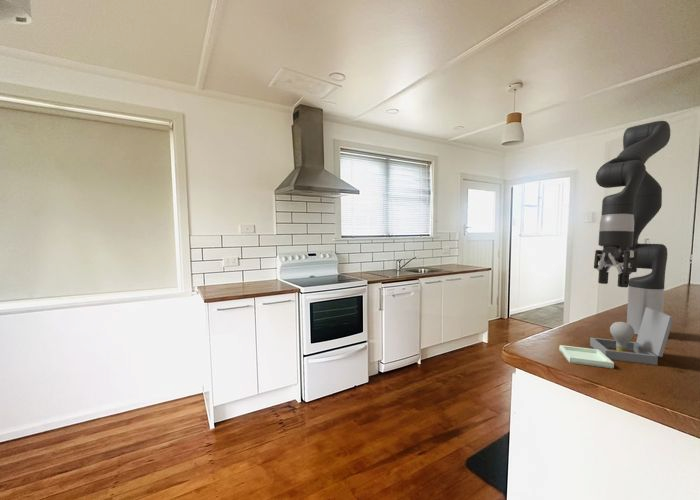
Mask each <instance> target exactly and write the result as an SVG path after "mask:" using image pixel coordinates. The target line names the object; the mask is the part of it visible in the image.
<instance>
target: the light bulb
mask: <svg viewBox="0 0 700 500" xmlns="http://www.w3.org/2000/svg"><path fill="white" fill-rule="evenodd" d="M609 332H610V334H611V336H612V338H613V340H615V341H616V346H617V347H616V350H615V351H622V352H626V351H627V350H626V345H627V343H628V342H631V340H632V339H633V338H634V336H635V334H634V329H633V327H632V326H631V325H629V324H627V322H625V321H615V322H613V323H612V324H611V325H610V327H609Z"/></svg>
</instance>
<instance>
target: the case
mask: <svg viewBox="0 0 700 500" xmlns="http://www.w3.org/2000/svg"><path fill="white" fill-rule="evenodd" d="M589 345H590V347H592V349H598V350H600V351H601V352H602V353H603V354H604V355H606V356H607V357H608V358H609V359H610V360H611V361H613V360H614V361H619V362H627V363H628V362H629V363H637V364H644V365H652V366H658V363H659V362H658V360H659V359H658V358H659V356H657V355H656V354H654V353H653V352H651V351H649V350H648V349H646V348H645V347H643V346H641V345H640V344H638V343H637V342H636V341H629V342H628V343H627V345H626V350H625V352H622V351H616V350H615V349H616V347H617V346H616V341H615V339H607V338H599V337H589ZM608 348H609V349H608ZM611 349H613V350H611ZM629 351H631V352H629ZM632 351H633V352H632Z"/></svg>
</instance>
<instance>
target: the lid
mask: <svg viewBox="0 0 700 500" xmlns="http://www.w3.org/2000/svg"><path fill="white" fill-rule="evenodd" d="M674 319H675V318H674V317H673V316H672V315H669V314H667V313H665V312H664V311H663V312H660V311H656V310H654V309H652V308H649V307H646V309H645V312H644V316H643V319H642V323H641V326H640V330H639V333H638V335H637V338H636V341H635V342H636V343H637V344H639V345H641V346H642V347H644V348H645V349H647V350H648V351H650V352H652V353H653V354H655V355H656V356H658V357H660V358H663V356H664V352H665V349H666V345H667V342H668V339H669V336H670V332H671V329H672V325H673V322H674Z"/></svg>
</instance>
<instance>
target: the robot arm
mask: <svg viewBox="0 0 700 500" xmlns="http://www.w3.org/2000/svg"><path fill="white" fill-rule="evenodd" d="M622 137H623V138H622V147H623V150H622V151H620V153H619V154H618V155H617V156H616V157H615V158H613V159H610V160H609V161H607V162H605V163H604V164H602V165H601V166H600V167H599V169H598V170H597V172H596V174H595V182H596V184H597V185H598V186H599V187H601V188H605V189H611V188H618V187H624V188H623V189H622V190H621V191H619V192H617V193H613V194H609V195H606V196H605V197H603V199H602V201H601V202H602V204H601V216H600V222H599V231H598V232H599V233H598V242H597V243H598V245H597V246H600V247H603V248H602V249H596V250H595V251H594V261H593V268H594V269H595V270H597V271H598V277H597V278H598V280H597V282H598V284H601V285H603V284H604V285H607V284H609V283H608V282H609V274H610V273H609V271H610V269H611V268H612V267H614V268H616V269H617V271H618V274H617V287H619V288H627V289H628V290H627V313H626V323H627V324H629V325H631V326H632V327H633V329H634V335H637V336H638V333H639V330H640V326H641V323H642V319H643V316H644V312H645V309H646V307H649V308H652V309H654V310H656V311H660V312H663V313H664V304H665V303H664V302H665V297H664V296H665V281H666V269H667V268H666V267H667V262H668V248H667V246H666V245H665V244H663V243H639V242H638V241H639V237H640V235H641V233H642V232H643V230H644V229H645V228H646V227H647V225H648V224H649V223H650V222H651V221H652V220H653V218H654V217H655V216H657V214H658V213H659V211H660V210H661V208H662V203H663V198H662V197H663V195H662V193H663V188H662V187H661V184H660V183H659V182H658V181H657V180H656V178H654V177H653V176H652V175H651V174H650V173H649V172H648V171H647V167H646V165H645V164H646V162H648V160H649V159H650V158H651V157H653V155H654V156H655V154H657V153H658V152H659V151H660V150H662V149H664V148H665V147H666V146H667V145H668V143H669V142H670V139H671V126H670V123H669V122H668V121H666V120H657V121H651V122H646V123H642V124H639V125H634V126H630V127H628V128H626V129H625V130H624V133H623V136H622ZM638 269H643V270H644V269H646V270H651V272H649V273H648V274H644V275H642V276H641V275H640V276H635V277H630V275H632V273H637V270H638Z"/></svg>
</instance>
